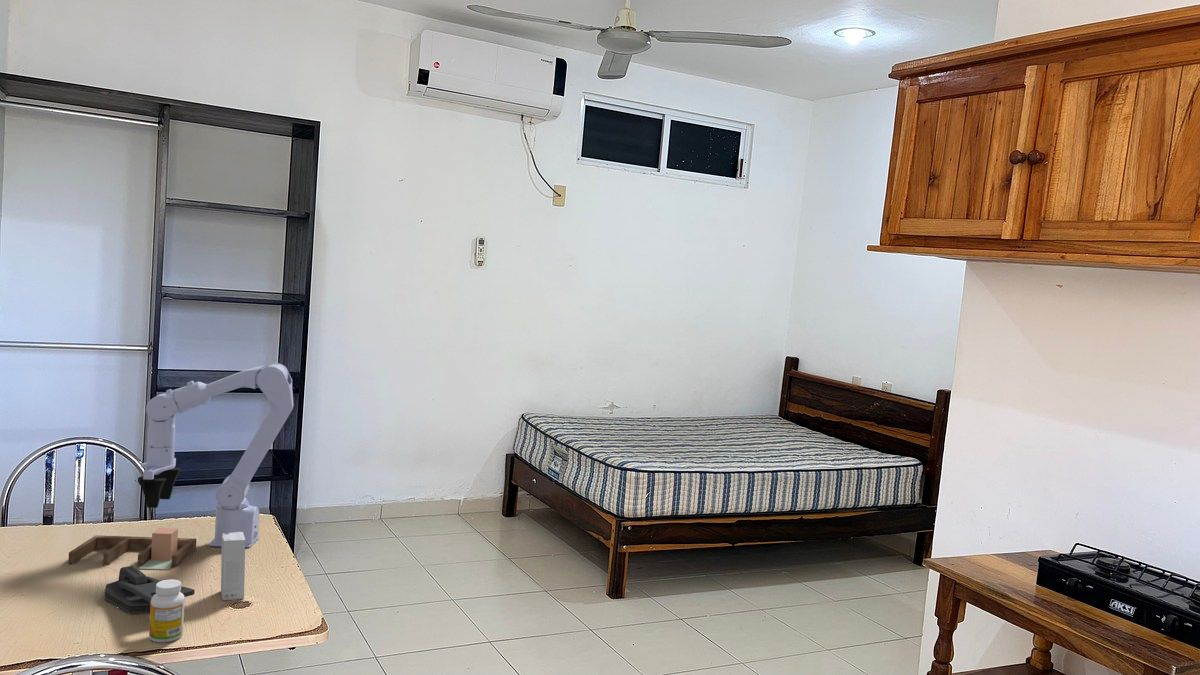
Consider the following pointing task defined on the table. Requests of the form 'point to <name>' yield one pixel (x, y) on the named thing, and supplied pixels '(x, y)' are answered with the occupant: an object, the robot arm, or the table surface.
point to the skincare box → (232, 566)
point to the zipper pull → (134, 591)
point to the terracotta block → (164, 543)
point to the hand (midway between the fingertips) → (158, 503)
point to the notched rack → (124, 543)
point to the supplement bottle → (167, 612)
